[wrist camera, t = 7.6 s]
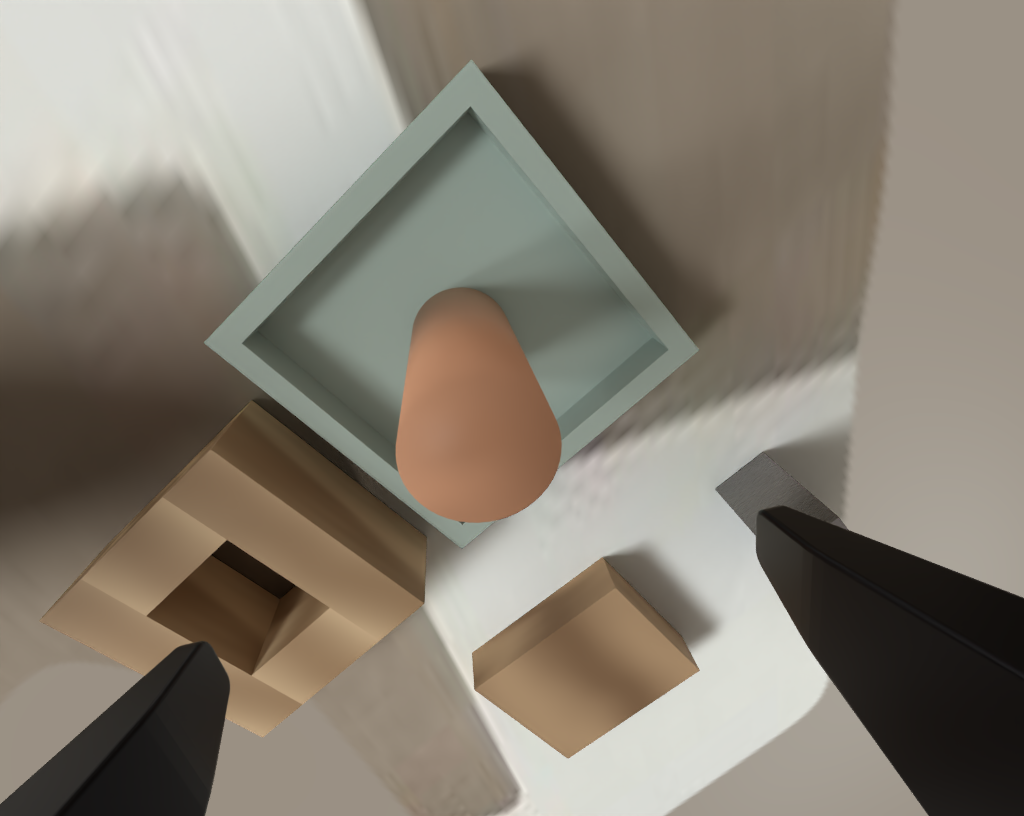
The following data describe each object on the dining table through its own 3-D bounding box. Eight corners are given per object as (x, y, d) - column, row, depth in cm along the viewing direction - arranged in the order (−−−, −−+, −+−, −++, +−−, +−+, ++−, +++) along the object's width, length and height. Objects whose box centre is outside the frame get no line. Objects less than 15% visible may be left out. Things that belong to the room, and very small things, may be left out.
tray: (460, 517, 24) (461, 549, 21) (228, 325, 19) (203, 342, 17) (675, 333, 21) (699, 350, 19) (467, 72, 17) (471, 59, 15)
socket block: (288, 656, 25) (262, 737, 22) (105, 546, 22) (39, 620, 18) (426, 537, 24) (424, 603, 20) (251, 399, 20) (210, 449, 17)
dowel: (518, 369, 21) (573, 500, 12) (427, 391, 20) (422, 539, 12) (497, 276, 19) (545, 356, 11) (399, 300, 19) (372, 399, 11)
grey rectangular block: (770, 551, 26) (839, 630, 22) (715, 489, 25) (778, 561, 20) (816, 518, 26) (896, 592, 21) (763, 452, 24) (838, 517, 19)
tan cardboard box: (558, 713, 30) (567, 758, 27) (471, 646, 27) (474, 689, 25) (678, 630, 28) (699, 670, 26) (599, 551, 26) (615, 587, 23)
